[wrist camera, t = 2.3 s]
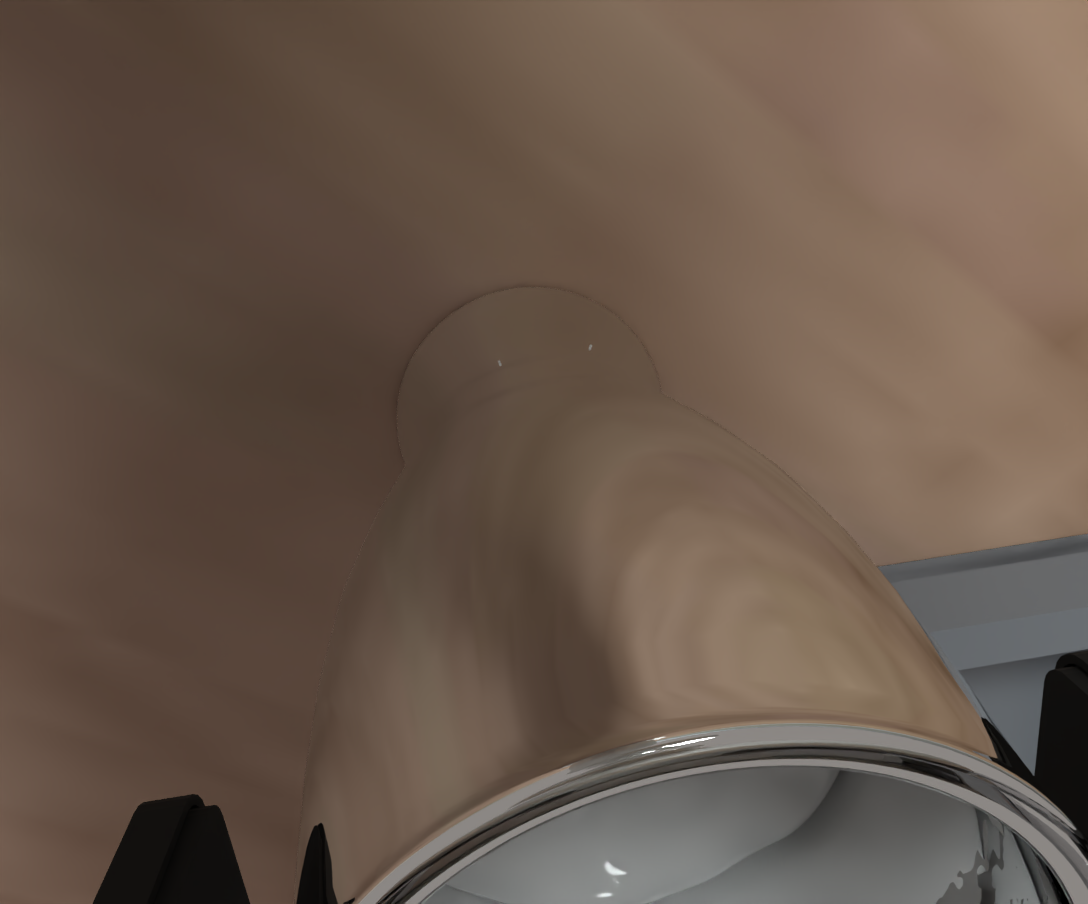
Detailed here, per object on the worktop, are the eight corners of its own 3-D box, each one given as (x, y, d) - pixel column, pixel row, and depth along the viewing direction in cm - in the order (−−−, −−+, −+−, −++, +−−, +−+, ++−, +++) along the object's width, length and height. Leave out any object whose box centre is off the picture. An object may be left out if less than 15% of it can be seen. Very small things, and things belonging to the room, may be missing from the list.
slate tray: (555, 617, 23) (571, 690, 20) (1115, 529, 23) (1204, 587, 21) (605, 1014, 28) (623, 1113, 26) (1052, 931, 29) (1117, 1019, 26)
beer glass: (722, 468, 22) (1227, 1139, 8) (470, 594, 22) (520, 1433, 8) (600, 206, 19) (1039, 514, 5) (317, 358, 19) (17, 1008, 6)
